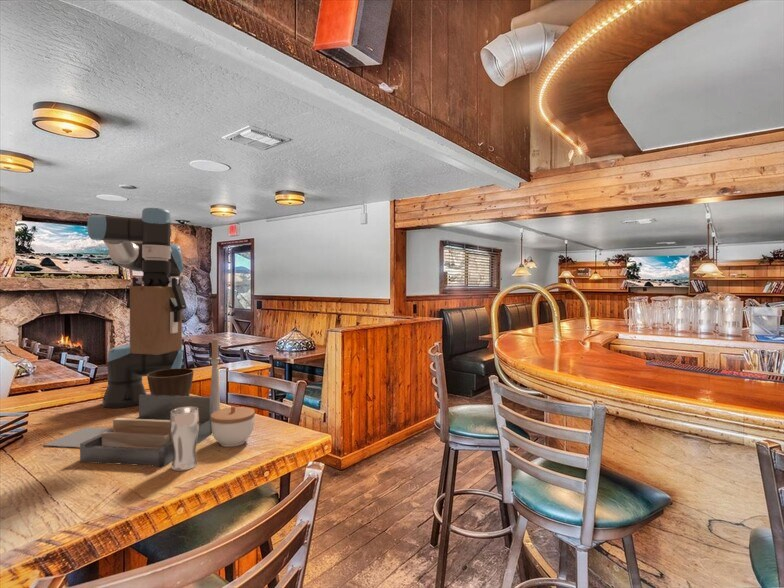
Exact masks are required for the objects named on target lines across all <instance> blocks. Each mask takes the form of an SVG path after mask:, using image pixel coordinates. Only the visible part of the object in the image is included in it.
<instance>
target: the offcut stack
mask: <svg viewBox="0 0 784 588" xmlns="http://www.w3.org/2000/svg"><path fill="white" fill-rule="evenodd" d="M112 425H113V427H112V429H113V432H104V433H102V446H110V447H130V448H150V449H159V447H161V446H163V445H164V444H166V443H167V442H169V441H171V437H170V420H151V419H135V418H125V417H124V418H123V417H117V418H114V419H113V420H112Z"/></svg>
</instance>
